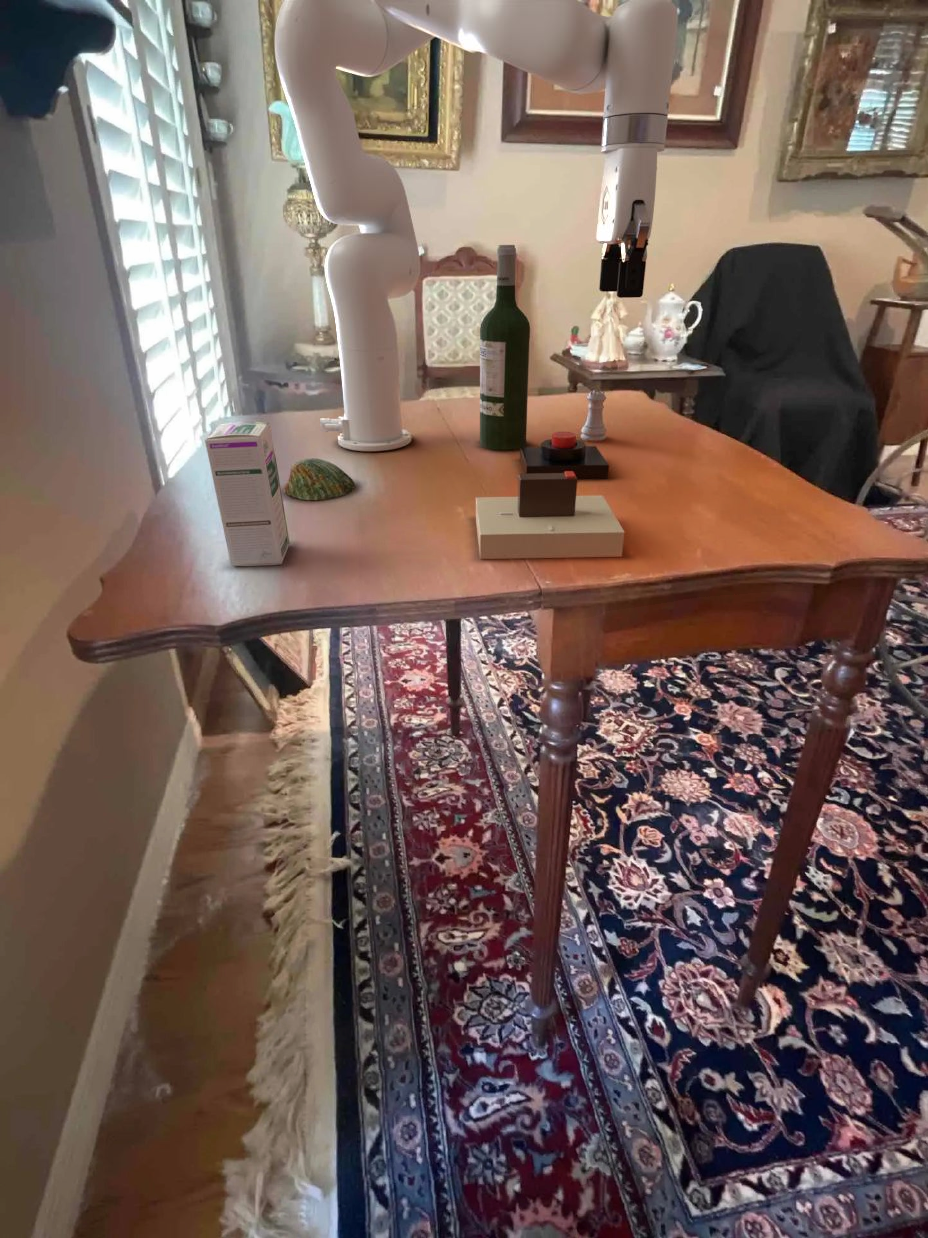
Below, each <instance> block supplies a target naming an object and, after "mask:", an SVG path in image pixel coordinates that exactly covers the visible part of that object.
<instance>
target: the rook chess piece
mask: <svg viewBox="0 0 928 1238" xmlns="http://www.w3.org/2000/svg"><path fill="white" fill-rule="evenodd" d="M586 399H587V401H588V405H587V409H588V412H587V417H586V421H585V423H584V425H583V427H582V428H581V430H580V431H581V434H580V438H581V439H582V441H584V442H591V443H597V442H603V441H604V440H606V438H607V436H606V435H605V434H606V433H607V429H606V427H605V424H604V417H603V412H604V410H603V409H604V408H605V406H604V402H605V401H606V399H607V396H606V395H605V391H602V390H598V391H597V390H594V389H593V390H590V391H589V393H588V396H586Z"/></svg>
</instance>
